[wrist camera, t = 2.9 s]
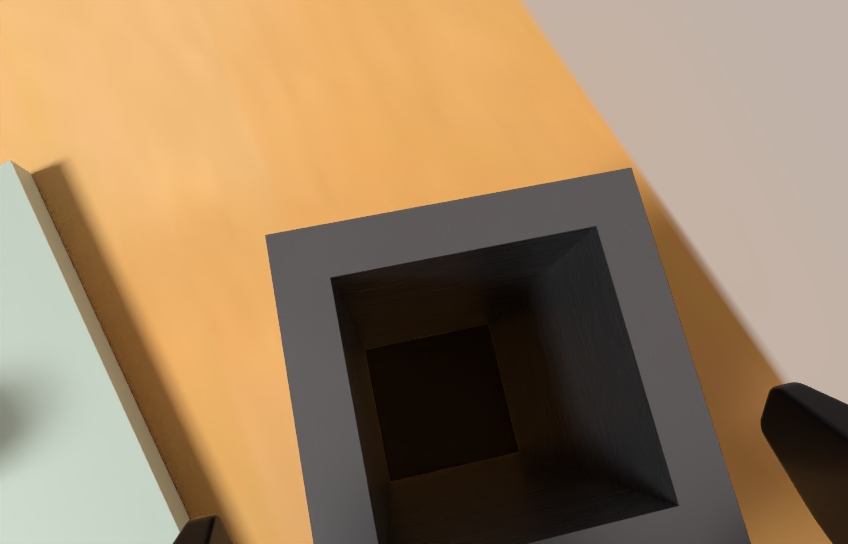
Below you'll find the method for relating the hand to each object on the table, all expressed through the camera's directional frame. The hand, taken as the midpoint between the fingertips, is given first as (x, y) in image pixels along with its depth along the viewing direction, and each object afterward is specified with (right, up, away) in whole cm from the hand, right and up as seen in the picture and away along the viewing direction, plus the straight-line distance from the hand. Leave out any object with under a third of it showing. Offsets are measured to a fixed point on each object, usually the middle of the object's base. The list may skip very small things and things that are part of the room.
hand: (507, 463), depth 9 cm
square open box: (-1, -1, +9) cm, 9 cm away
